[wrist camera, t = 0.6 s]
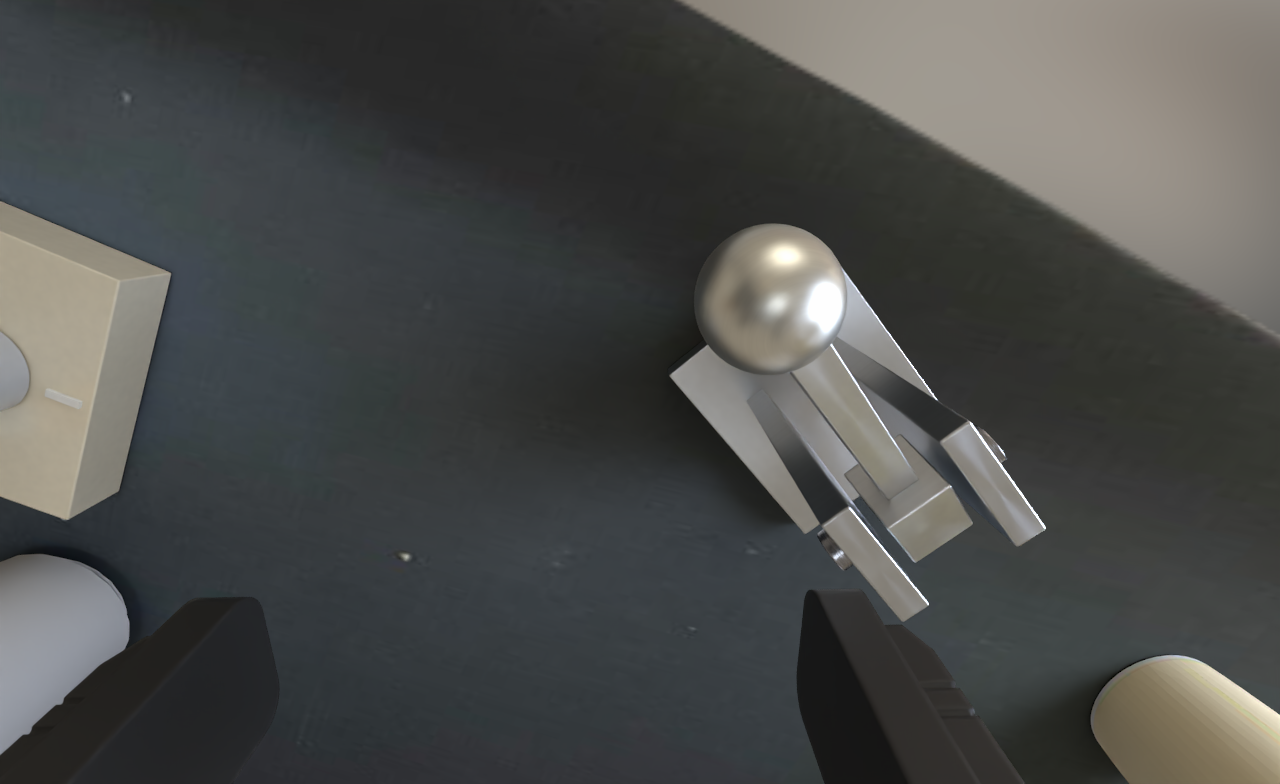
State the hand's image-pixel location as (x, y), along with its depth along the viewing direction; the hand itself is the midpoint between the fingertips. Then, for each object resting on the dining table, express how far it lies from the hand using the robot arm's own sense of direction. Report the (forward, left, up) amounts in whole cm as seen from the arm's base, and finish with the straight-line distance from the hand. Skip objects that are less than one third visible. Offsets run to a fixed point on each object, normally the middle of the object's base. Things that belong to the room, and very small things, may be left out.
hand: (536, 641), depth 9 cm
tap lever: (-1, +7, -9) cm, 11 cm away
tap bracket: (+3, +10, -21) cm, 23 cm away
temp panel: (0, -26, -21) cm, 33 cm away
